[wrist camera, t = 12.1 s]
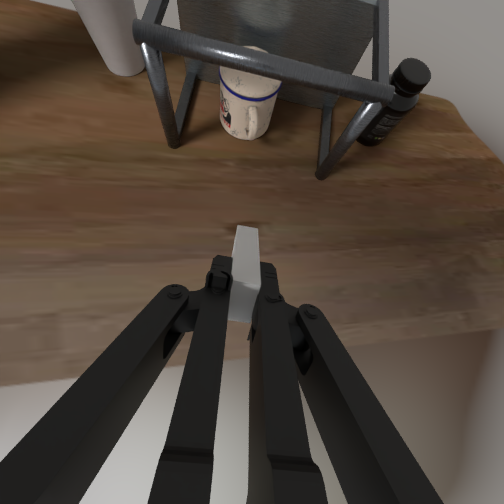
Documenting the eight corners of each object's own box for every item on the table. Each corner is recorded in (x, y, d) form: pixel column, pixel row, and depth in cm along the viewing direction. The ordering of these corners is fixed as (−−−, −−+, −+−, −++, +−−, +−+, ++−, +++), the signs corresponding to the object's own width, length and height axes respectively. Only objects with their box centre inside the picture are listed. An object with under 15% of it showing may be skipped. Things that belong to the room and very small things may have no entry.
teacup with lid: (216, 97, 43) (216, 21, 32) (267, 99, 44) (283, 27, 33) (221, 157, 40) (223, 96, 29) (274, 157, 42) (296, 99, 30)
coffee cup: (159, 47, 44) (131, -83, 30) (148, 88, 41) (112, -31, 27) (103, 35, 43) (46, -106, 29) (89, 77, 40) (18, -54, 26)
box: (166, 147, 39) (130, 27, 23) (187, 72, 43) (170, -74, 27) (325, 181, 42) (395, 95, 25) (331, 107, 46) (393, -7, 30)
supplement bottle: (389, 132, 46) (445, 72, 35) (371, 154, 45) (424, 98, 33) (361, 110, 47) (407, 44, 35) (342, 131, 45) (385, 68, 33)
